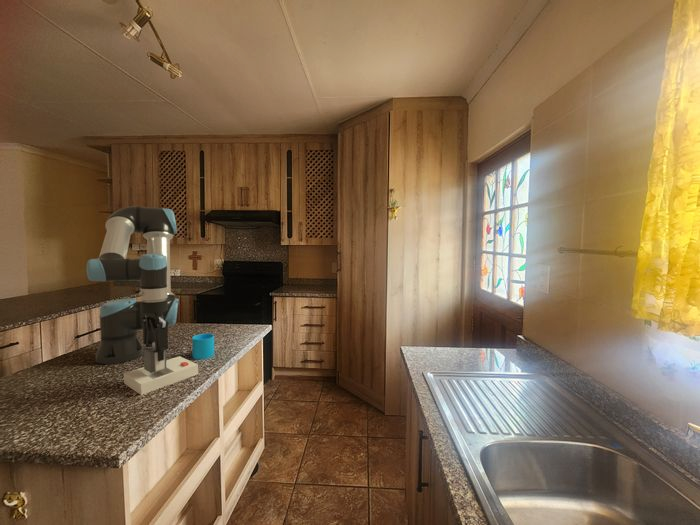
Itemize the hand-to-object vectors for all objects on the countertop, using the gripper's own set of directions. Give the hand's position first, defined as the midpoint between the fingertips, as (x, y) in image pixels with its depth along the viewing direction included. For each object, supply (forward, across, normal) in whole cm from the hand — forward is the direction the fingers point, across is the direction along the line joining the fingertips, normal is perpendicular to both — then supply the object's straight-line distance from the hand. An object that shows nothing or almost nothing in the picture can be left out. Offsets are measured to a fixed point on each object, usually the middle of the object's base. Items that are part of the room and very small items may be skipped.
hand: (155, 367), depth 100 cm
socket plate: (+5, 0, +2) cm, 5 cm away
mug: (+5, -10, +23) cm, 25 cm away
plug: (0, 0, 0) cm, 0 cm away
